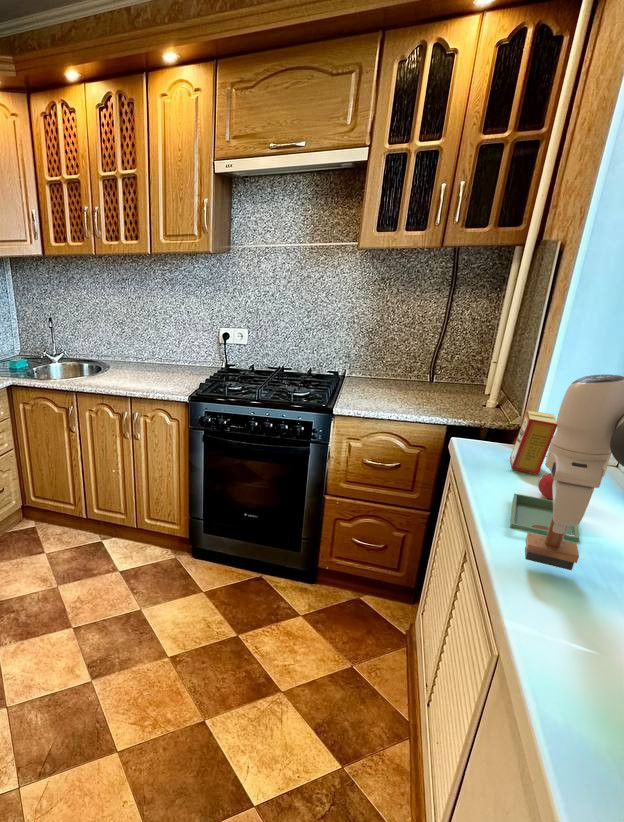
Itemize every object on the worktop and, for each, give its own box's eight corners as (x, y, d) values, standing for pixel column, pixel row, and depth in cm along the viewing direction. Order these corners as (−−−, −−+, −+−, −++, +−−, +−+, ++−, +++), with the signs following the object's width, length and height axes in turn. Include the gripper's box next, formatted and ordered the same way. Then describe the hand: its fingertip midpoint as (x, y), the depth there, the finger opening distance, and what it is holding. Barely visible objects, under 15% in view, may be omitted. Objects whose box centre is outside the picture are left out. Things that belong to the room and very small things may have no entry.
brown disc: (548, 530, 120) (549, 526, 120) (554, 539, 117) (555, 534, 116) (527, 528, 122) (529, 523, 121) (533, 536, 118) (534, 532, 118)
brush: (523, 559, 105) (537, 513, 101) (523, 547, 109) (536, 502, 105) (573, 571, 101) (590, 524, 97) (571, 558, 105) (587, 512, 101)
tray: (511, 503, 135) (514, 493, 134) (571, 514, 128) (574, 504, 127) (508, 534, 120) (511, 523, 119) (576, 549, 114) (579, 538, 113)
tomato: (531, 497, 137) (542, 471, 134) (536, 487, 142) (546, 462, 139) (569, 509, 132) (580, 482, 129) (572, 498, 137) (584, 472, 134)
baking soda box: (538, 474, 151) (558, 423, 145) (511, 468, 154) (530, 417, 148) (535, 463, 159) (554, 413, 152) (509, 457, 162) (527, 408, 155)
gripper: (554, 443, 107) (538, 504, 112) (555, 474, 91) (536, 544, 96) (594, 448, 103) (575, 511, 108) (602, 482, 88) (580, 554, 93)
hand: (557, 527), depth 102 cm, fingers closed on brush, 3 cm apart
